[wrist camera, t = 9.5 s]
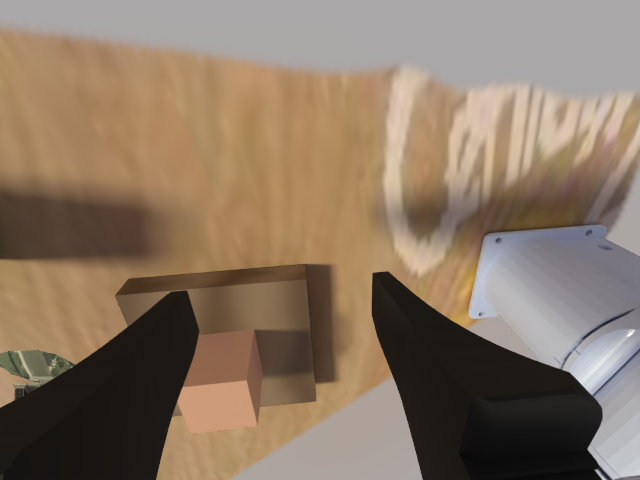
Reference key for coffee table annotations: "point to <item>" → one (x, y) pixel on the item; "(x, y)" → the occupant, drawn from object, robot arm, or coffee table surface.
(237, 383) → the terracotta block
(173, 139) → the coffee table surface
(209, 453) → the coffee table surface
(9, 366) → the eiffel tower figurine
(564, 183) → the coffee table surface
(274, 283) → the walnut base
